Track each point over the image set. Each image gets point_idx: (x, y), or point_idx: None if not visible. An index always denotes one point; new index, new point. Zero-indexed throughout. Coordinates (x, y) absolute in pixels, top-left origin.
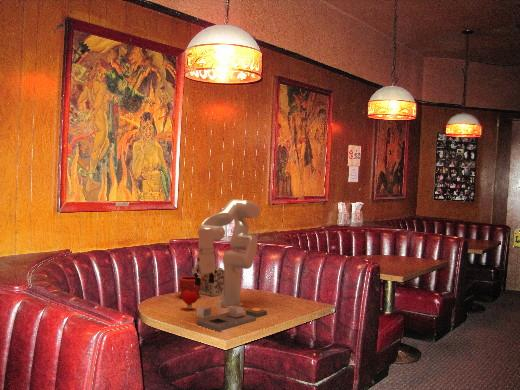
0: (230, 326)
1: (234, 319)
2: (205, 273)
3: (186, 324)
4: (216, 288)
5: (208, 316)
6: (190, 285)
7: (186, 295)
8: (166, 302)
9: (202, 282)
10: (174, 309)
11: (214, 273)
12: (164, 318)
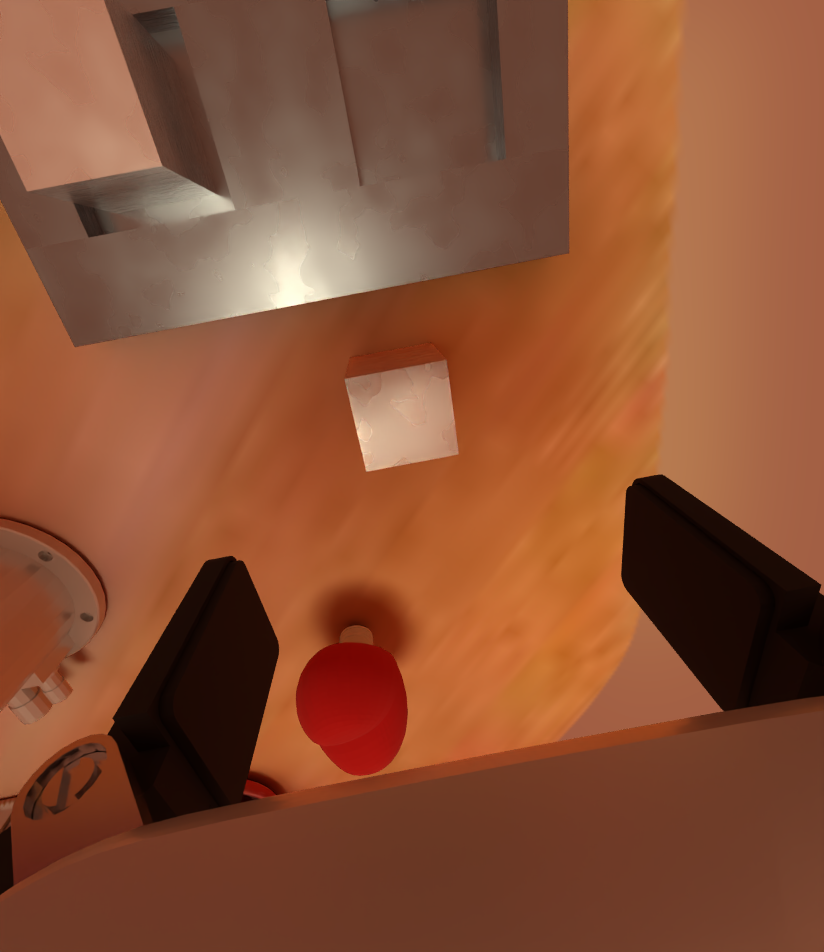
0: None
1: (204, 5)
2: (768, 713)
3: (595, 330)
4: None
5: (373, 357)
6: None
7: (393, 711)
8: (400, 768)
9: None
10: (440, 657)
11: (43, 823)
12: (609, 532)
